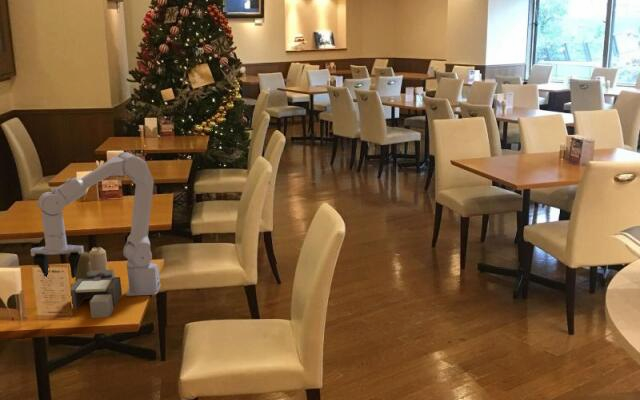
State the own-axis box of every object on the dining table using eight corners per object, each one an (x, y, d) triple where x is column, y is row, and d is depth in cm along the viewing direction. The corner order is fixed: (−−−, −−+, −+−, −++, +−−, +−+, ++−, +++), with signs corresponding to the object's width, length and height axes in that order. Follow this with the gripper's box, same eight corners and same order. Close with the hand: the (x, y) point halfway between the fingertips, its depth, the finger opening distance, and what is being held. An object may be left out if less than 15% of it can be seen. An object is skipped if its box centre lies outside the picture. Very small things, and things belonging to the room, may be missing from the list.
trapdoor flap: (116, 281, 208) (115, 269, 207) (106, 296, 197) (105, 283, 196) (87, 282, 208) (86, 270, 207) (76, 297, 196) (74, 285, 195)
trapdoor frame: (122, 294, 206) (119, 276, 205) (114, 306, 198) (112, 288, 196) (80, 296, 206) (78, 278, 204) (71, 308, 197) (68, 290, 195)
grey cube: (113, 309, 196) (111, 294, 194) (109, 317, 191) (107, 301, 190) (96, 310, 195) (94, 295, 194) (91, 317, 191) (89, 302, 189)
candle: (88, 277, 222) (84, 249, 219) (101, 272, 226) (97, 244, 224) (99, 280, 219) (95, 251, 216) (112, 274, 224) (108, 247, 221)
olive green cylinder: (88, 288, 212) (84, 256, 209) (71, 287, 214) (67, 255, 211) (98, 281, 218) (94, 250, 215) (81, 280, 219) (77, 249, 216)
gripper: (24, 238, 186) (30, 283, 190) (76, 236, 187) (81, 281, 190) (33, 231, 193) (39, 274, 196) (83, 229, 194) (88, 272, 197)
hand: (61, 277), depth 194 cm, fingers open, 7 cm apart
